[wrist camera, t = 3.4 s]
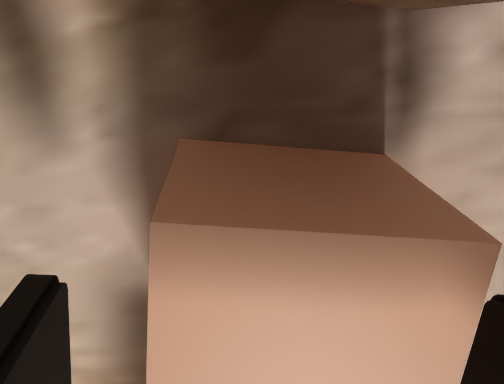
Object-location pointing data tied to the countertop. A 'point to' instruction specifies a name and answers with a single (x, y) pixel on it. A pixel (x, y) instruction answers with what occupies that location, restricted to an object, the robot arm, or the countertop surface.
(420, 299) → the terracotta block
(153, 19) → the countertop surface
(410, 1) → the walnut block
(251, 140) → the countertop surface
